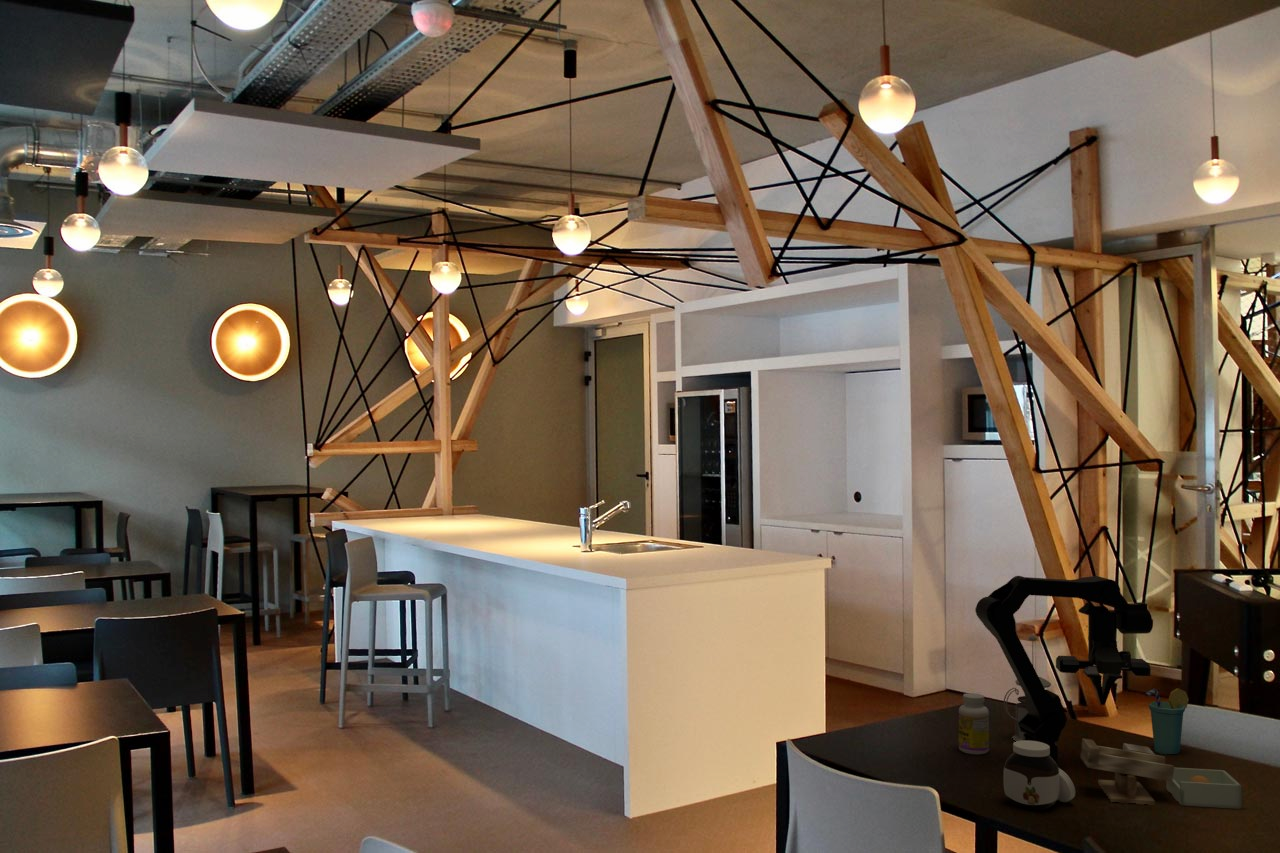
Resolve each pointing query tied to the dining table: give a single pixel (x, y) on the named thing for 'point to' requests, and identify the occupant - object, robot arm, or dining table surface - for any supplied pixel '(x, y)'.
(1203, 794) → the tray
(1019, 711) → the french press
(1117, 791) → the stand
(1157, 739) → the cup
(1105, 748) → the lever
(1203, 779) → the ball
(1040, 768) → the spread jar
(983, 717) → the supplement bottle
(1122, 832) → the dining table surface
